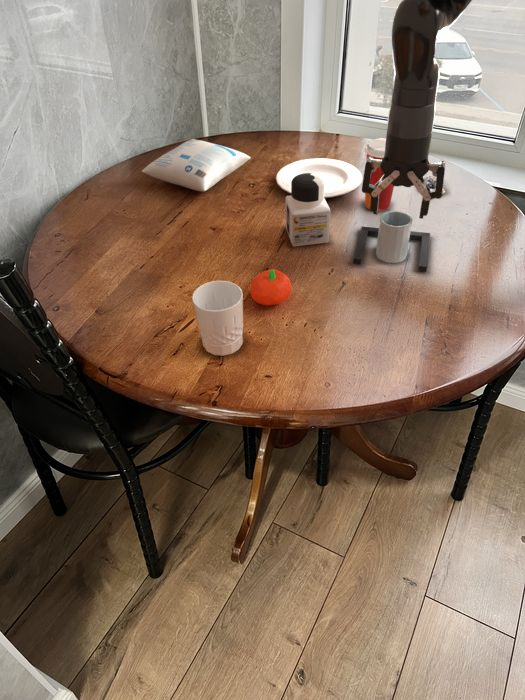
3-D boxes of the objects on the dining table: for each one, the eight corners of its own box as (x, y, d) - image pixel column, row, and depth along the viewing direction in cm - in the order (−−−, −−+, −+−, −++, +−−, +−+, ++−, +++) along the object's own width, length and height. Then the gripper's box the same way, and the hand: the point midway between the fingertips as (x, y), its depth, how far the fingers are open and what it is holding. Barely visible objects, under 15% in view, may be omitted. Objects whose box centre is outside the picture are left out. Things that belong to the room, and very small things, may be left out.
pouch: (201, 173, 121) (249, 138, 132) (137, 159, 129) (188, 127, 141) (207, 205, 126) (252, 168, 138) (145, 190, 134) (193, 156, 146)
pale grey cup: (407, 248, 110) (413, 212, 104) (405, 264, 105) (411, 228, 100) (377, 244, 111) (381, 209, 105) (374, 261, 107) (378, 225, 101)
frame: (429, 238, 112) (430, 232, 111) (426, 272, 103) (427, 266, 102) (361, 231, 115) (361, 226, 114) (353, 263, 106) (353, 258, 105)
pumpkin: (241, 302, 99) (239, 273, 94) (270, 282, 103) (269, 253, 98) (271, 318, 95) (270, 289, 91) (299, 296, 99) (300, 267, 95)
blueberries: (437, 177, 131) (439, 170, 130) (454, 192, 126) (456, 184, 124) (412, 182, 130) (413, 174, 129) (428, 197, 125) (430, 189, 123)
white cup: (212, 323, 95) (206, 276, 88) (253, 333, 92) (250, 286, 86) (191, 352, 90) (183, 304, 83) (234, 363, 87) (229, 315, 80)
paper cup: (394, 197, 125) (402, 137, 116) (394, 214, 120) (403, 152, 110) (360, 196, 126) (365, 136, 117) (358, 212, 121) (364, 151, 111)
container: (292, 247, 111) (292, 188, 103) (285, 228, 117) (284, 171, 108) (329, 243, 112) (332, 184, 103) (320, 224, 118) (322, 167, 109)
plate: (340, 212, 121) (341, 204, 120) (260, 193, 129) (260, 185, 128) (374, 174, 134) (375, 166, 133) (299, 159, 142) (299, 152, 141)
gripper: (364, 134, 90) (357, 221, 101) (453, 139, 87) (436, 228, 98) (369, 118, 95) (363, 202, 107) (453, 121, 92) (437, 208, 103)
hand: (398, 214), depth 102 cm, fingers open, 8 cm apart
